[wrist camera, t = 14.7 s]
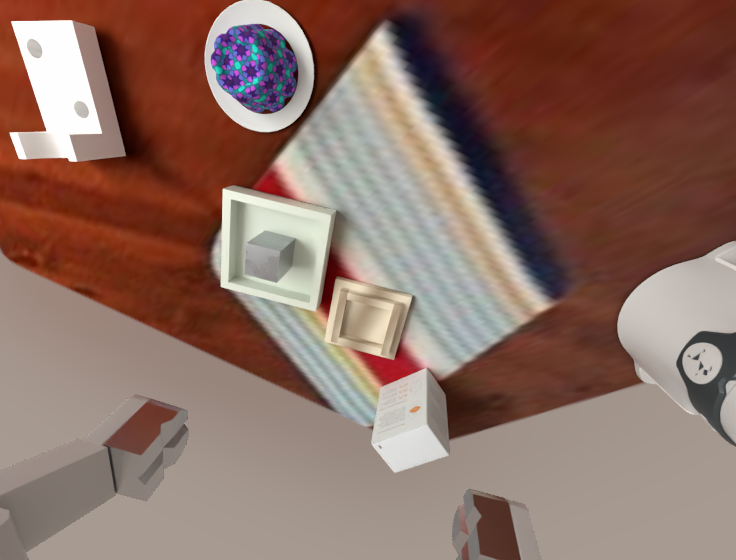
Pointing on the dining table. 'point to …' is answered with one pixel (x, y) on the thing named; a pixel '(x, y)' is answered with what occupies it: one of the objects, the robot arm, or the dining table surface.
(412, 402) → the small box
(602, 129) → the dining table surface
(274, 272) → the gray block
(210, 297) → the dining table surface
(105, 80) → the bracket
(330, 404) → the dining table surface
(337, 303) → the socket holder
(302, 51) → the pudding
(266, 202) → the tray
